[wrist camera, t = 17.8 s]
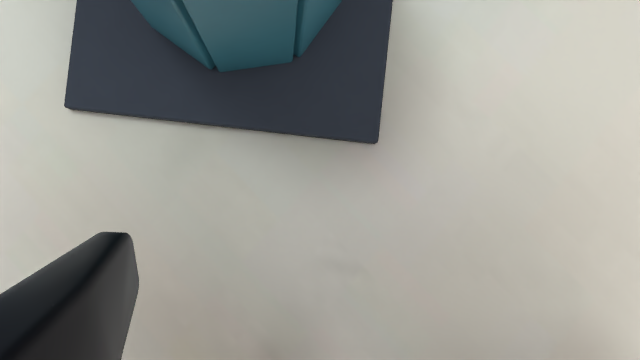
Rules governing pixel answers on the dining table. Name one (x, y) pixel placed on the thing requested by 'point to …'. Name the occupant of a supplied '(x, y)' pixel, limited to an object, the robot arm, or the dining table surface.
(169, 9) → the tube
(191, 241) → the dining table surface
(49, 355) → the robot arm
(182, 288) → the dining table surface
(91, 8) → the mat
